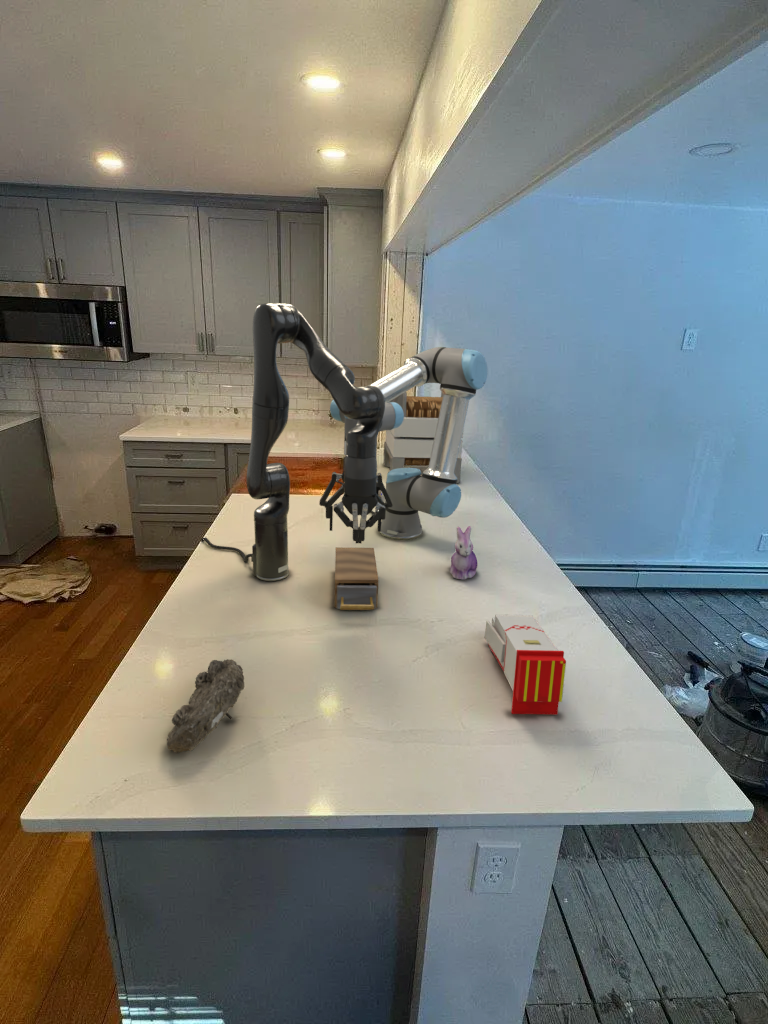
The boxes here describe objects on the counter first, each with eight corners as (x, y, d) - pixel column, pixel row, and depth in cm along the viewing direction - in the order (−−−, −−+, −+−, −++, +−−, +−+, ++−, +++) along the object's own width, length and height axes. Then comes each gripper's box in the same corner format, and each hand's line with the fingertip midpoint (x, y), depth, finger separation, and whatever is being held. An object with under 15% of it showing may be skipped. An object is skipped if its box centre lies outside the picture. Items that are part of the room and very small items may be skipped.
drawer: (376, 619, 142) (377, 597, 140) (336, 619, 142) (337, 597, 140) (371, 575, 166) (372, 555, 164) (337, 575, 165) (337, 555, 163)
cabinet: (377, 607, 150) (378, 579, 147) (334, 607, 149) (335, 579, 146) (372, 573, 170) (373, 547, 167) (335, 572, 169) (335, 547, 166)
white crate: (382, 463, 289) (386, 382, 275) (445, 464, 293) (451, 384, 279) (390, 482, 257) (394, 392, 243) (460, 483, 261) (468, 394, 247)
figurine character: (382, 507, 229) (381, 492, 243) (383, 490, 226) (382, 475, 239) (365, 506, 229) (366, 491, 242) (366, 489, 226) (366, 475, 239)
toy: (530, 600, 137) (574, 657, 108) (525, 651, 140) (567, 720, 111) (480, 599, 137) (511, 656, 107) (477, 651, 139) (506, 719, 110)
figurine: (459, 583, 165) (464, 535, 160) (440, 569, 174) (444, 523, 169) (486, 577, 169) (491, 531, 164) (466, 564, 178) (470, 519, 173)
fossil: (192, 660, 117) (244, 628, 112) (224, 691, 120) (276, 661, 115) (142, 746, 98) (202, 712, 93) (182, 779, 101) (242, 748, 96)
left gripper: (331, 477, 128) (330, 548, 134) (390, 478, 129) (386, 548, 135) (332, 468, 135) (331, 536, 141) (387, 469, 136) (384, 536, 142)
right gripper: (310, 458, 149) (310, 533, 156) (404, 461, 151) (400, 535, 158) (311, 451, 156) (311, 523, 163) (401, 454, 158) (397, 525, 165)
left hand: (358, 542), depth 138 cm, fingers closed
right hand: (355, 529), depth 160 cm, fingers open, 13 cm apart
